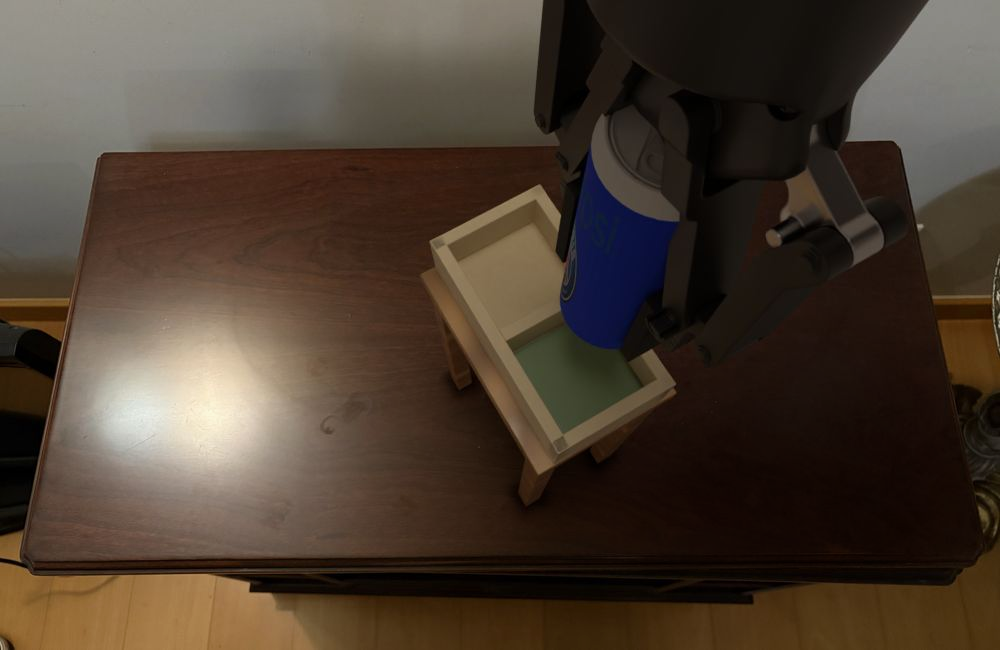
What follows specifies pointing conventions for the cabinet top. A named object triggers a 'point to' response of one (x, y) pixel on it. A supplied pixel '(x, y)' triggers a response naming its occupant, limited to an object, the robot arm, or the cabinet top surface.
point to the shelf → (467, 350)
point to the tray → (540, 327)
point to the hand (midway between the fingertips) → (614, 292)
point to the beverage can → (617, 231)
